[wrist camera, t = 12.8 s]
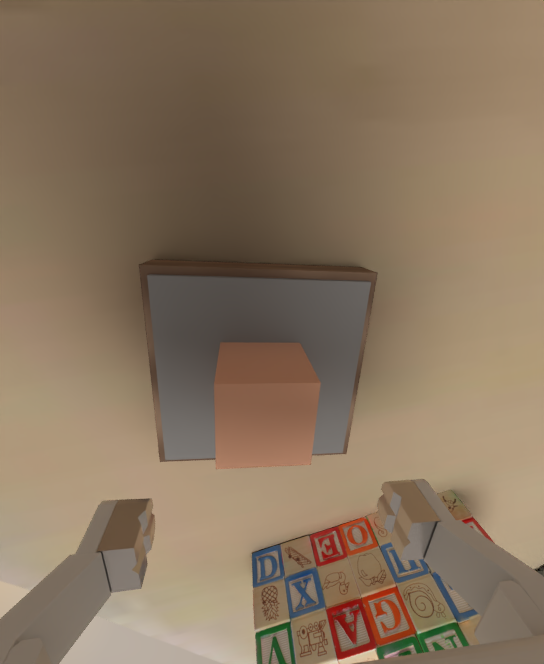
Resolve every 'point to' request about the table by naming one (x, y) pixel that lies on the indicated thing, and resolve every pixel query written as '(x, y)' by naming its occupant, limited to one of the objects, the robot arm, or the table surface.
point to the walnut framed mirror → (250, 340)
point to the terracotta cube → (264, 405)
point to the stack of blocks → (355, 598)
